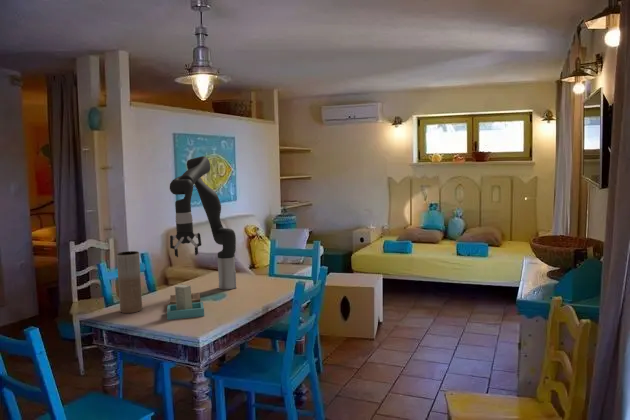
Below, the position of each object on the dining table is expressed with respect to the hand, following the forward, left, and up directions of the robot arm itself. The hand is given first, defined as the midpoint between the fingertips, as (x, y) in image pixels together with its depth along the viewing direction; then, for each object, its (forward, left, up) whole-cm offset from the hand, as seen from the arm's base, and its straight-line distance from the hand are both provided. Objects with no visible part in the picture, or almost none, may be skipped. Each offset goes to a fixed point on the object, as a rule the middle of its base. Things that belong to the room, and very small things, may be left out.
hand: (186, 256), depth 241 cm
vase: (+27, -7, -26) cm, 38 cm away
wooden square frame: (+2, -7, -25) cm, 26 cm away
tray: (+2, +9, -25) cm, 27 cm away
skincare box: (+2, +8, -25) cm, 26 cm away
